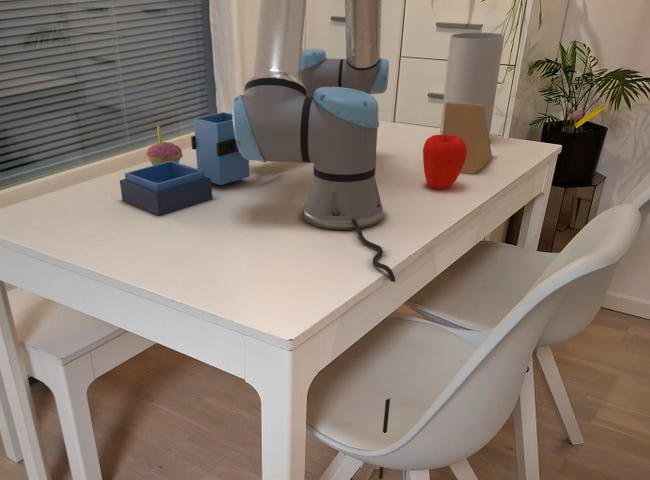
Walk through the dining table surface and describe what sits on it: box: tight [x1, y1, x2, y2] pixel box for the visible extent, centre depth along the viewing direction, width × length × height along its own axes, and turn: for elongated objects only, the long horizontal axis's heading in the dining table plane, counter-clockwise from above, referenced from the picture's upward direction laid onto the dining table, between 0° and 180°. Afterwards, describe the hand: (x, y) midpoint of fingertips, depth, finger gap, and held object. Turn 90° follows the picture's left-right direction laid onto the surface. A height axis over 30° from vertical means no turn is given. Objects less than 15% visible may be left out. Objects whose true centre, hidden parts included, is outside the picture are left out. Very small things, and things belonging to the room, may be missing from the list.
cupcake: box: [145, 122, 183, 166], centre depth 158 cm, size 9×8×12 cm
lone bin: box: [193, 111, 250, 186], centre depth 149 cm, size 8×8×13 cm
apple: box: [422, 134, 467, 190], centre depth 143 cm, size 9×9×11 cm
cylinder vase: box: [439, 32, 505, 137], centre depth 170 cm, size 12×12×25 cm
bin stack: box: [119, 161, 213, 217], centre depth 143 cm, size 14×14×6 cm
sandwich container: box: [443, 102, 493, 175], centre depth 156 cm, size 9×15×15 cm, turn 148°
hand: (205, 146), depth 146 cm, fingers closed on lone bin, 8 cm apart
